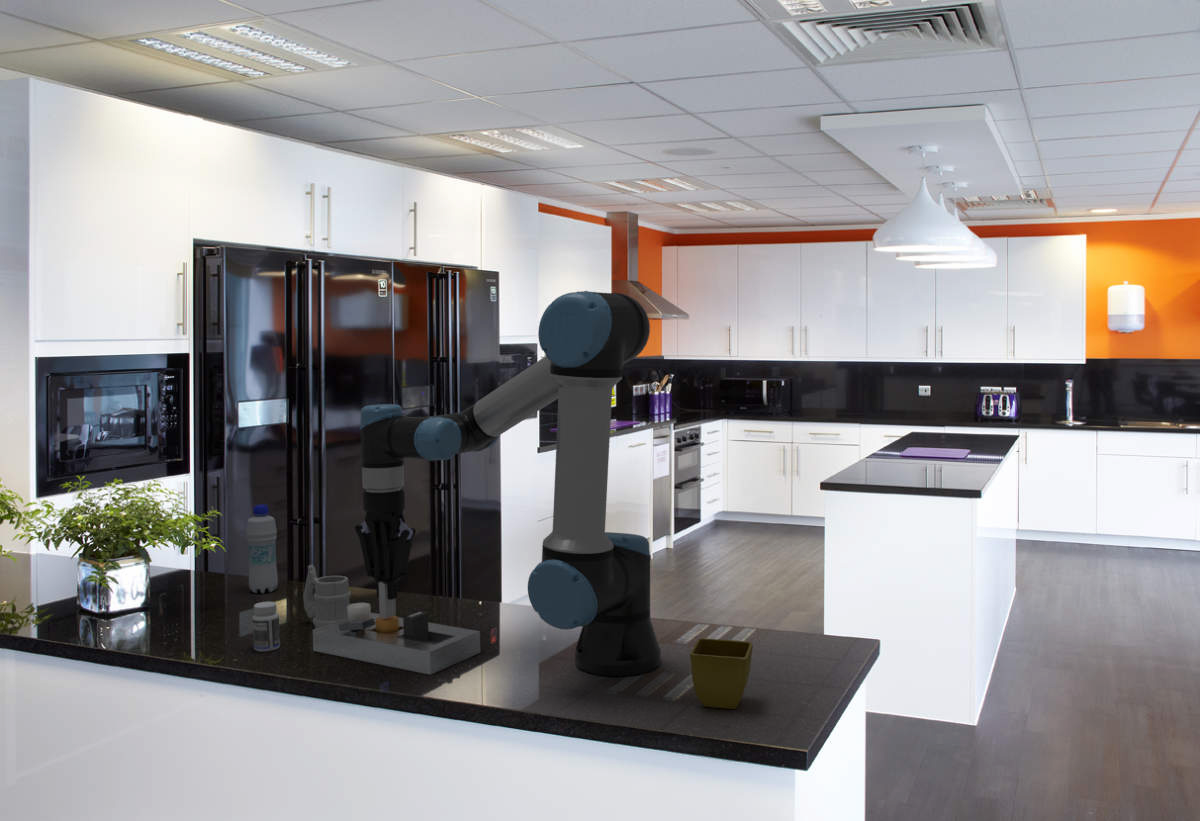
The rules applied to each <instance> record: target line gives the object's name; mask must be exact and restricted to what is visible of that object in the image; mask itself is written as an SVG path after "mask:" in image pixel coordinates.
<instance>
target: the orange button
mask: <svg viewBox="0 0 1200 821" xmlns="http://www.w3.org/2000/svg"><path fill="white" fill-rule="evenodd" d="M399 618H400V617H399V616H397V615H393V616H391V617H388V618H382V617H377V618H376V632H379V633H384V634H391V633H393V632H396V631H399Z"/></svg>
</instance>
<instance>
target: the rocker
mask: <svg viewBox="0 0 1200 821" xmlns="http://www.w3.org/2000/svg"><path fill="white" fill-rule="evenodd" d="M373 625H375V622H374V618H371V619H362V620H353V621H348V622H345V623H342V624H339V630H340V631H347V630H357V629H364V628H367V627H370V626H373Z"/></svg>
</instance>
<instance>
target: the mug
mask: <svg viewBox="0 0 1200 821" xmlns="http://www.w3.org/2000/svg"><path fill="white" fill-rule="evenodd" d="M349 587H350V586H349V578H348V577H347V576H343V575H329V576H328V575H327V576H321V577H318V576H317V571H316V567H315V566H314V565H313V564H309V565H308V566H307V575H306V580H305V585H304V592H303V593H302V594H303V595H302V596H303V598H302V599H303V608H304V611H305V612H306V614H307V617H308V619H309V618H310V619H311V618H312V624H313V625H314V629H316V628H319V627H322V626H325V625H328V624H331V623H334V622H337V621H340V620H343V619H346V618H348V608H347V606H348V605H350V604H351V603H350V602H351V600H350V598H351V596H352V593H351V591H350V588H349ZM313 590H314V594H313Z"/></svg>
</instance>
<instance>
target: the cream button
mask: <svg viewBox="0 0 1200 821" xmlns="http://www.w3.org/2000/svg"><path fill="white" fill-rule="evenodd" d="M347 608H348V621H353V620H362V619H371V613H372V611H371V604H370V603H367V602H355V603H350V605H348V606H347Z"/></svg>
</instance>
